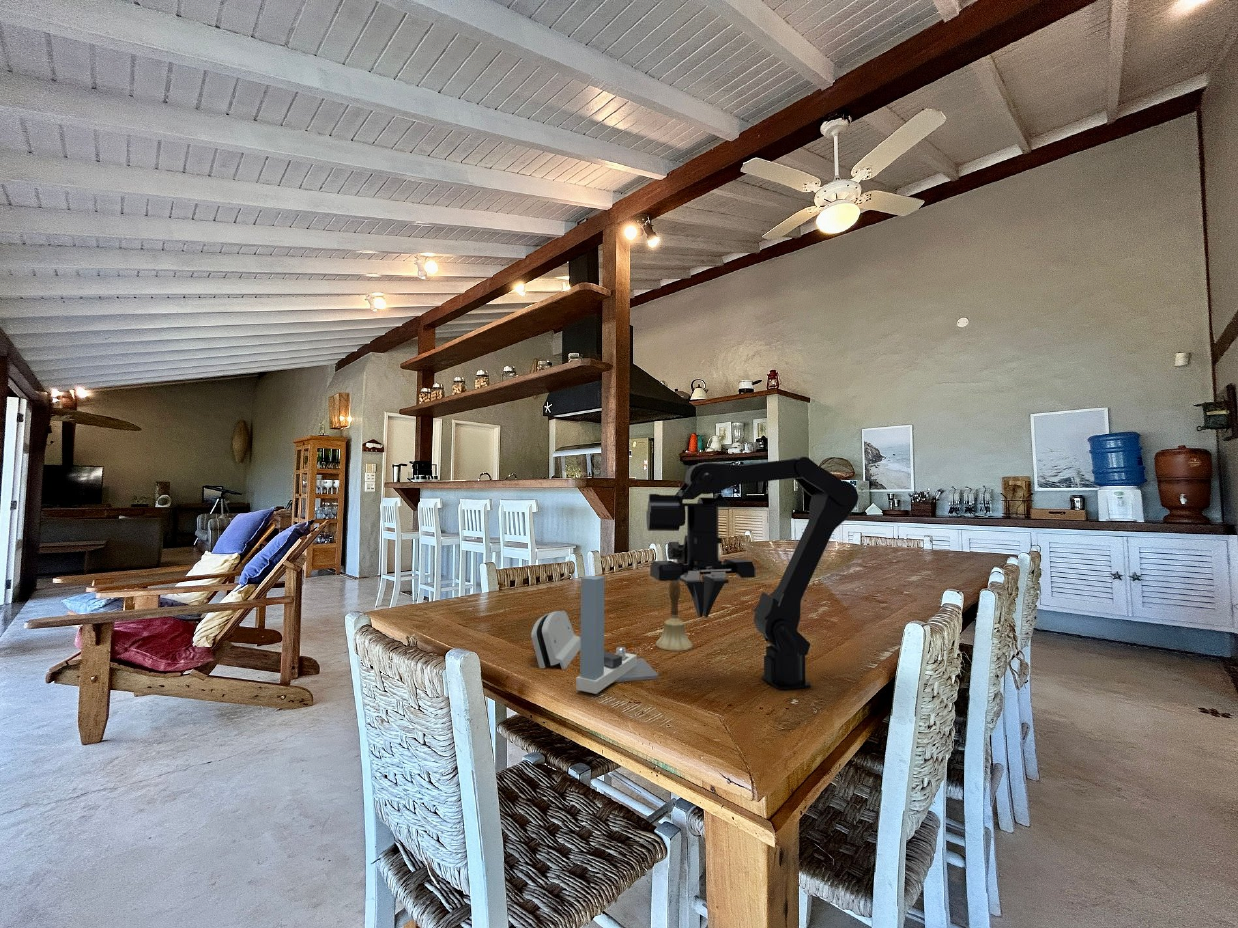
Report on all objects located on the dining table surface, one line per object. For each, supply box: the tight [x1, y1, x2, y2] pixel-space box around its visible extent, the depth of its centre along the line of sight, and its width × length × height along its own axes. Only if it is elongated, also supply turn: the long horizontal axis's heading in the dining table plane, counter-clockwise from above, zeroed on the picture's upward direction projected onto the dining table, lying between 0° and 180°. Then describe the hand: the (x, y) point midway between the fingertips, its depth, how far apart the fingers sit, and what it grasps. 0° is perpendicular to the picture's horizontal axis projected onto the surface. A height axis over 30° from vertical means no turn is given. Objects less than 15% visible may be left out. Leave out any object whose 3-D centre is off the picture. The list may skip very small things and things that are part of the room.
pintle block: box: [604, 646, 659, 684], centre depth 98 cm, size 13×11×4 cm
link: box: [575, 575, 638, 695], centre depth 95 cm, size 16×4×19 cm, turn 153°
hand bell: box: [655, 580, 693, 652], centre depth 116 cm, size 8×8×16 cm
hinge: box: [530, 610, 581, 671], centre depth 109 cm, size 17×5×10 cm, turn 171°
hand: (702, 616), depth 94 cm, fingers closed
